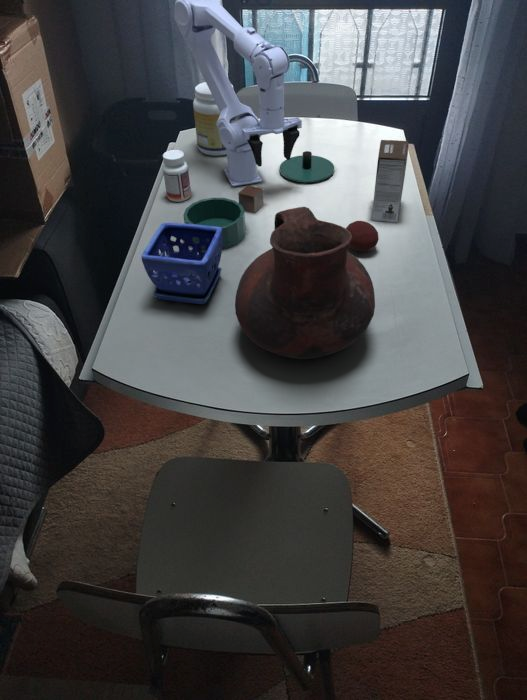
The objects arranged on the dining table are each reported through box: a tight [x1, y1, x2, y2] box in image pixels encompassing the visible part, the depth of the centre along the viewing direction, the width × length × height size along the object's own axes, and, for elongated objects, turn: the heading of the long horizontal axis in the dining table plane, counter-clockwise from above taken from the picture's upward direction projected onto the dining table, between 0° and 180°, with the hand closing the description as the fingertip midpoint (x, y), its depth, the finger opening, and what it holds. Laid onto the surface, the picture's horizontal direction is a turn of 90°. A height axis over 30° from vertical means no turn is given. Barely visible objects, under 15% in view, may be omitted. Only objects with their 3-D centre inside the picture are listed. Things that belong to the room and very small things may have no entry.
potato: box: [346, 220, 380, 252], centre depth 131 cm, size 7×8×6 cm
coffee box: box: [371, 139, 410, 223], centre depth 138 cm, size 9×6×16 cm
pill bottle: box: [162, 149, 192, 203], centre depth 148 cm, size 6×6×11 cm
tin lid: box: [278, 150, 335, 183], centre depth 158 cm, size 15×15×5 cm
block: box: [237, 184, 264, 214], centre depth 146 cm, size 4×4×4 cm
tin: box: [183, 197, 247, 251], centre depth 137 cm, size 14×14×6 cm
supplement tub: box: [192, 81, 238, 157], centre depth 166 cm, size 12×12×17 cm
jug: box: [234, 206, 376, 360], centre depth 104 cm, size 25×25×25 cm
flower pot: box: [141, 222, 223, 305], centre depth 120 cm, size 13×13×12 cm
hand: (272, 161), depth 146 cm, fingers open, 7 cm apart
